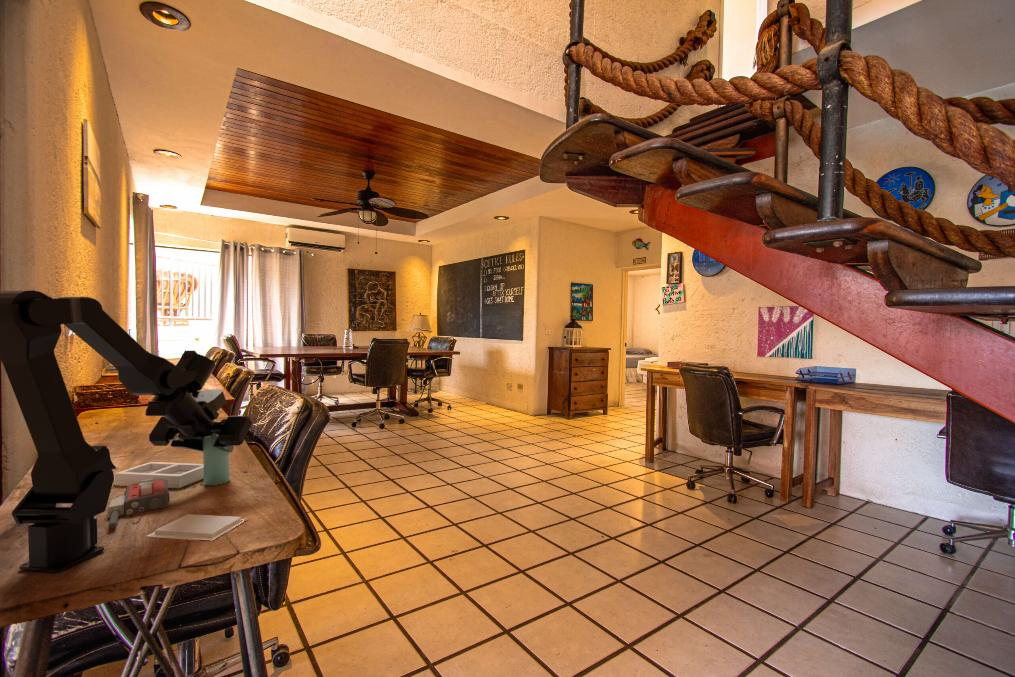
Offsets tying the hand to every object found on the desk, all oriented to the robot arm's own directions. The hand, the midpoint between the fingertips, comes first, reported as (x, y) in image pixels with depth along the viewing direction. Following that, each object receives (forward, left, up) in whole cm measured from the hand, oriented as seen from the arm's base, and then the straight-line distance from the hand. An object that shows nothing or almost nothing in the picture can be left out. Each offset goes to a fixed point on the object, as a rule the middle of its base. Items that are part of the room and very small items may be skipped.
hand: (220, 450), depth 99 cm
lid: (-22, -15, -7) cm, 28 cm away
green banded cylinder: (-1, 0, -7) cm, 7 cm away
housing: (-1, +13, -7) cm, 14 cm away
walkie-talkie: (-16, +3, -7) cm, 18 cm away
